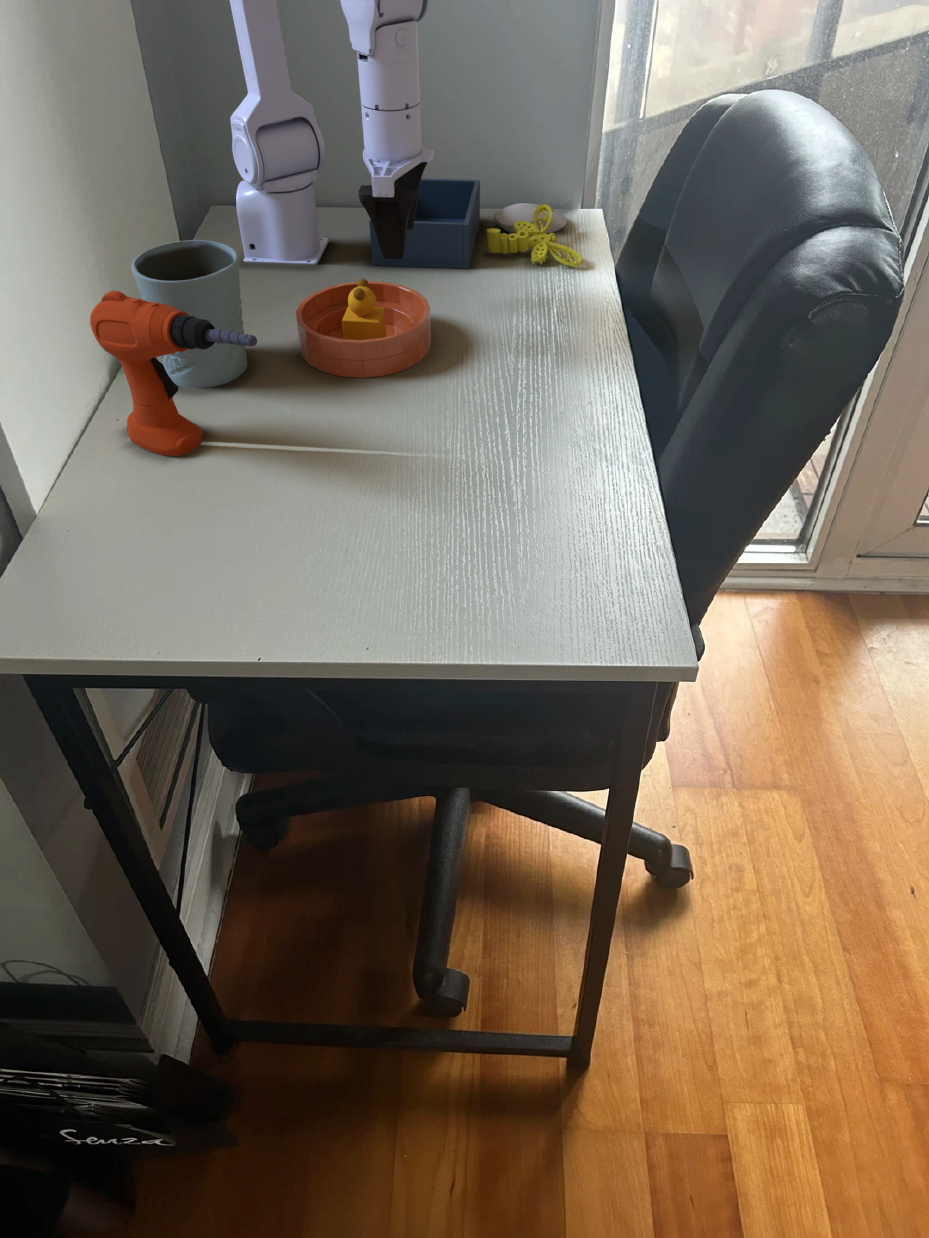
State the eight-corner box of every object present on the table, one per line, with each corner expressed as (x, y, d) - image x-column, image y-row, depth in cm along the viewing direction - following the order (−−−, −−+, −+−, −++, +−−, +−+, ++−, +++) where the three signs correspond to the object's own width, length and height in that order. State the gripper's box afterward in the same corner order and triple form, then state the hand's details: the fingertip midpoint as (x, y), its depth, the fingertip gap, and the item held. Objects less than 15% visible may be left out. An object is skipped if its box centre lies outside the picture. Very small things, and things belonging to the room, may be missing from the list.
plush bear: (344, 351, 102) (338, 290, 97) (351, 336, 104) (344, 276, 100) (381, 353, 102) (376, 292, 97) (386, 338, 104) (382, 277, 99)
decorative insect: (508, 290, 117) (584, 268, 118) (507, 268, 114) (584, 246, 115) (475, 230, 124) (547, 210, 125) (474, 207, 121) (547, 187, 122)
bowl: (287, 378, 99) (281, 339, 96) (317, 316, 109) (312, 278, 106) (421, 385, 98) (419, 345, 95) (438, 321, 108) (437, 283, 105)
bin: (372, 265, 119) (369, 221, 115) (391, 218, 130) (389, 177, 126) (468, 269, 118) (468, 224, 114) (479, 221, 129) (479, 180, 125)
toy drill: (274, 481, 83) (226, 319, 74) (121, 449, 91) (60, 299, 82) (306, 454, 86) (264, 294, 77) (155, 425, 94) (100, 277, 85)
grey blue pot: (147, 392, 97) (116, 280, 89) (175, 345, 104) (149, 237, 96) (244, 395, 97) (222, 282, 88) (265, 347, 104) (247, 239, 95)
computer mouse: (571, 232, 126) (573, 209, 124) (499, 240, 124) (500, 217, 122) (557, 216, 130) (559, 193, 128) (488, 223, 128) (488, 200, 126)
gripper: (421, 127, 85) (427, 272, 95) (440, 82, 96) (443, 217, 105) (345, 125, 86) (358, 270, 95) (371, 80, 96) (381, 215, 106)
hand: (398, 242), depth 100 cm, fingers open, 7 cm apart
